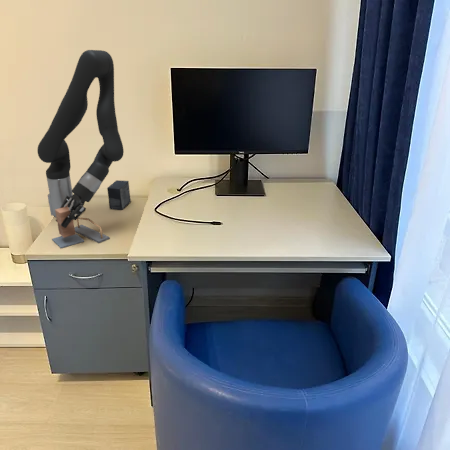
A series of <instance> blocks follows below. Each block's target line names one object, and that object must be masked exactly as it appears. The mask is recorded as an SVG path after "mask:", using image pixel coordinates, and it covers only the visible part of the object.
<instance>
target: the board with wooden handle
mask: <svg viewBox="0 0 450 450" xmlns="http://www.w3.org/2000/svg"><path fill="white" fill-rule="evenodd" d="M79 220H86V221H89V222H90V223H91V224H92V225H94V226H96V227H97V228H98V229H99V231H97V230H95V229H94V228H91V227H88V226H86V225H84V224H80V221H79ZM76 224H77V225H76V226H74V228H75V233H76V234H77V235H78V234H79V236H82V237H85V238H87V239H89V240H91V241H93V242H95V243H97V244H101V243H103V242H106V241H108V240H110V238H111V237H110V236H108V235H106V234H104V233H103V230H102V226H100V225H99V224H98V223H96V222H94V221H93V220H92V219H90V218H88V217H81V216H79V217H78V218H77V220H76Z"/></svg>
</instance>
